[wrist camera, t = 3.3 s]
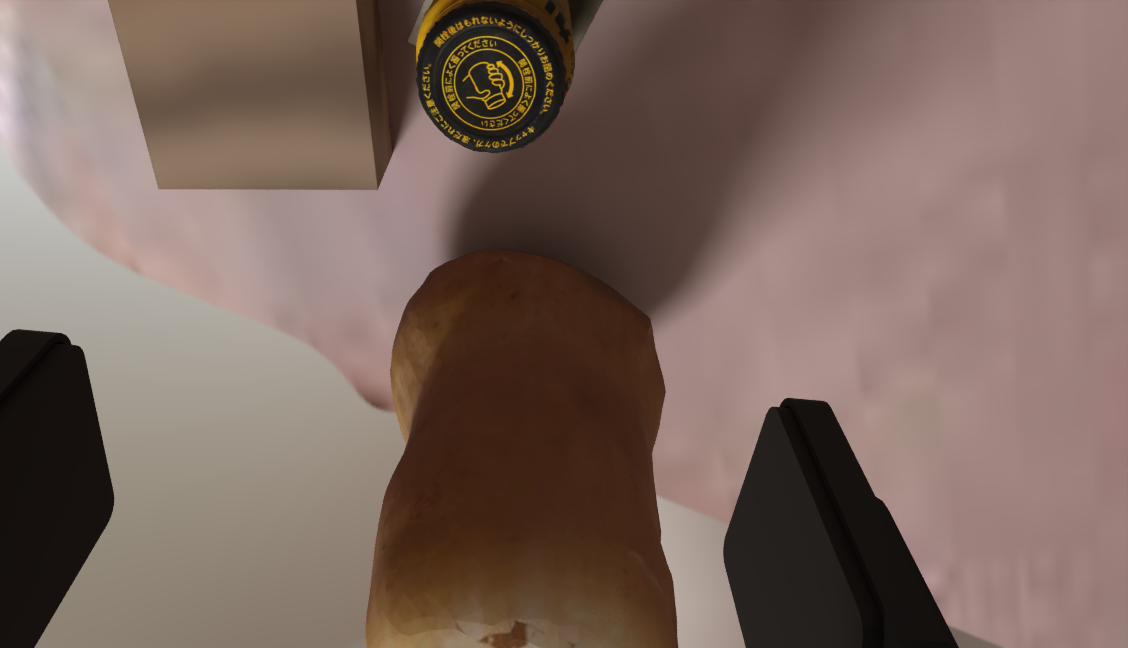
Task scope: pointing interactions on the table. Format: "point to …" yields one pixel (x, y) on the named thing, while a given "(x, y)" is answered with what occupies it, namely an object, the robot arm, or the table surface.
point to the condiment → (497, 66)
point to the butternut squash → (522, 466)
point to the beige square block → (258, 92)
